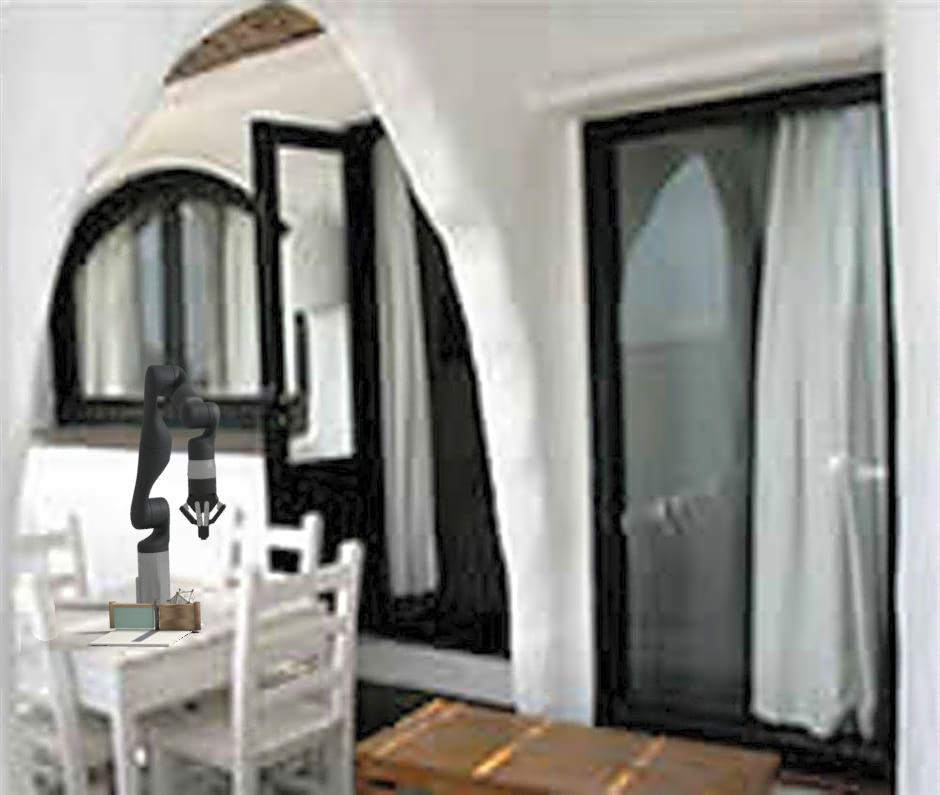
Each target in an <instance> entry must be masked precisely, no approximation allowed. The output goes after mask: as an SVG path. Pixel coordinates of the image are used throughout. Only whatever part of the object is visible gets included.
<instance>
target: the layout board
mask: <svg viewBox="0 0 940 795" xmlns="http://www.w3.org/2000/svg"><path fill="white" fill-rule="evenodd" d="M201 625H203V626H204V623H203V622H201ZM159 627H160V622H159ZM191 631H193V632H198V630H160V629H159V630H155V628H153V629H130V628H115V629H114V630H112V631H110V632H108V633H106V634H104V635H102V636H101V637H99V638H96V639H95V640H93V641H91V642H89V643H88V646H89V645H107V646H106V647H171V646H172V645H174V644H175V643H177V642H179V641H180V640H182V639H183V638H185V637H186V636H185V635H186V634H188V633H189V632H191ZM191 633H192V632H191ZM188 635H189V634H188ZM184 636H185V637H184ZM182 637H183V638H182ZM181 638H182V639H181ZM179 639H180V640H179ZM178 640H179V641H178ZM176 641H177V642H176ZM173 643H174V644H173Z"/></svg>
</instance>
